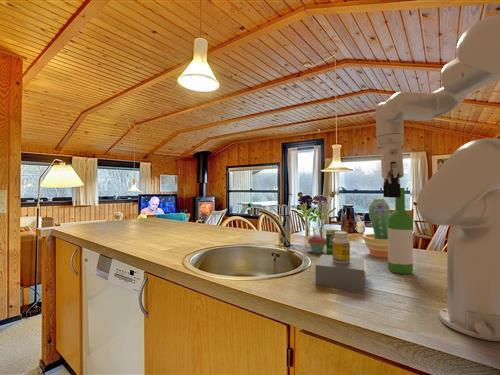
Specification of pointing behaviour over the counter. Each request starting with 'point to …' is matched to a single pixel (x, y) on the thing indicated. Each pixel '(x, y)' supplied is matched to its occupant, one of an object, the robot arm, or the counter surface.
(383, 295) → the counter surface
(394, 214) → the wine bottle
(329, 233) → the coffee box
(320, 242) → the cupcake
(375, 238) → the potted cactus
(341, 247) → the supplement bottle
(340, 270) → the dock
